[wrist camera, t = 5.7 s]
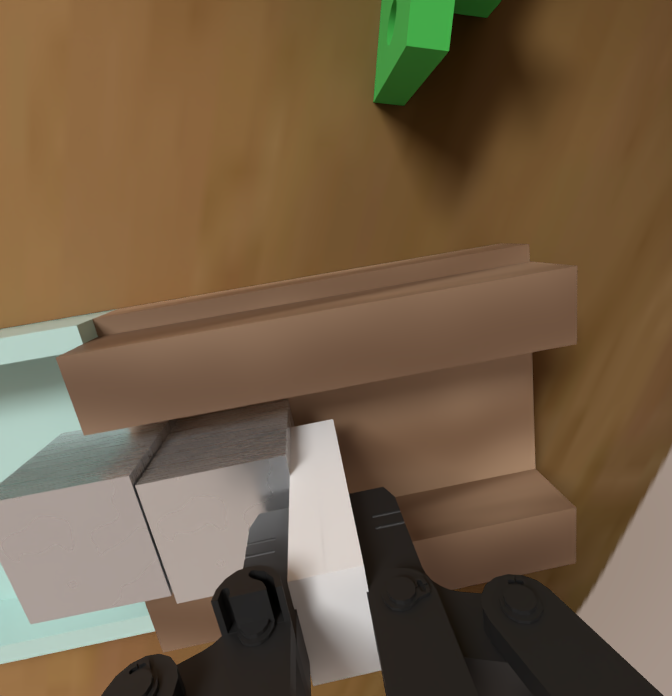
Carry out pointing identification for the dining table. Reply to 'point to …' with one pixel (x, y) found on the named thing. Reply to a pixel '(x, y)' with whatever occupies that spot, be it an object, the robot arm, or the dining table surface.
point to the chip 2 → (215, 491)
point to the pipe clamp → (416, 42)
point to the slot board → (367, 395)
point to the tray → (21, 445)
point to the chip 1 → (82, 525)
